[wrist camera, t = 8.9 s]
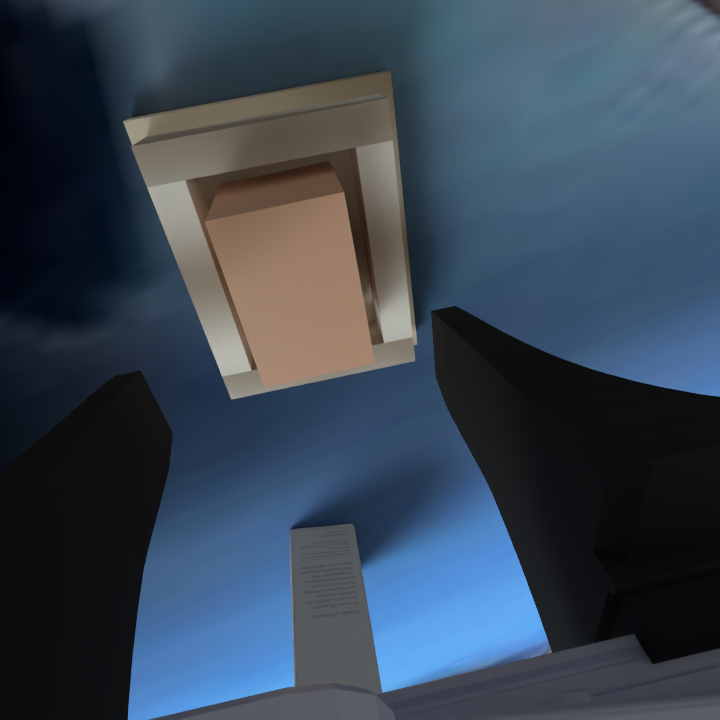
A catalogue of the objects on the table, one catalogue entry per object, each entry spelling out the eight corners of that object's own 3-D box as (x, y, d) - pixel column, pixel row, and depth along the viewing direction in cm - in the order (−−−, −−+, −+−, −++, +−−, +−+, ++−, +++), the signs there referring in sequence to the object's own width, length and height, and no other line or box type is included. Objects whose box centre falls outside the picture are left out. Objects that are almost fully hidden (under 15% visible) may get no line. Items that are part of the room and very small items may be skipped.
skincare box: (351, 575, 33) (383, 799, 23) (291, 582, 33) (296, 814, 23) (356, 520, 30) (395, 752, 20) (288, 525, 29) (293, 769, 19)
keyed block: (329, 160, 17) (344, 192, 13) (357, 306, 20) (374, 363, 17) (220, 183, 17) (204, 221, 13) (266, 325, 20) (264, 387, 16)
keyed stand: (412, 333, 23) (428, 368, 20) (228, 371, 22) (222, 411, 20) (385, 70, 16) (404, 74, 14) (130, 117, 16) (104, 130, 14)
